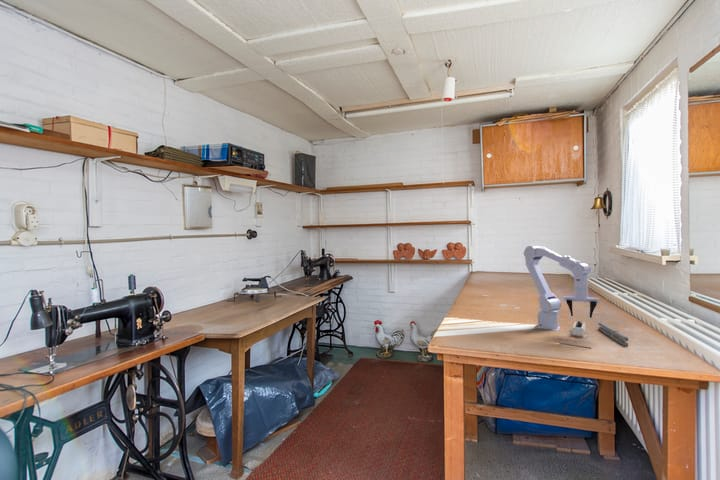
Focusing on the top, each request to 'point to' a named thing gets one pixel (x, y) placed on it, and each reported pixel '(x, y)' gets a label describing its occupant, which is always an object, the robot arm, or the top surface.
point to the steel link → (578, 330)
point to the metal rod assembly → (613, 334)
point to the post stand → (578, 336)
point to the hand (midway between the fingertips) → (581, 316)
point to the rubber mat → (575, 345)
